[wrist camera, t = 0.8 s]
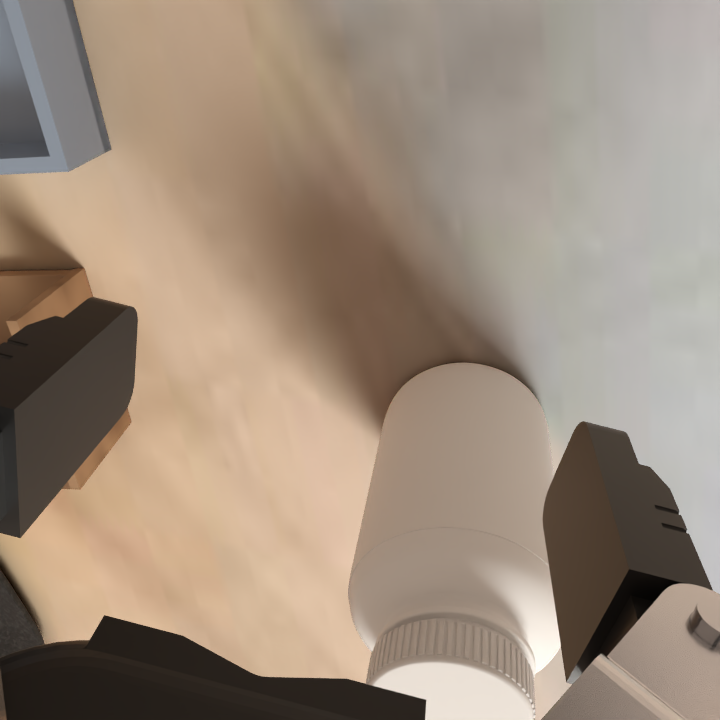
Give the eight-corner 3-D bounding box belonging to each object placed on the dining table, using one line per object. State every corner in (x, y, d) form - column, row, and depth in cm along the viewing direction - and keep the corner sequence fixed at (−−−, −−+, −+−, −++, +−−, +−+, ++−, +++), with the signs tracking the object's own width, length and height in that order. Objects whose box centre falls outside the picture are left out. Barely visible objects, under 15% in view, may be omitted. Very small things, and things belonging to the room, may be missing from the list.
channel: (131, 422, 37) (80, 489, 32) (32, 419, 38) (-31, 484, 33) (84, 268, 33) (16, 320, 28) (-27, 270, 34) (-110, 321, 29)
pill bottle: (374, 471, 36) (312, 753, 23) (399, 341, 32) (340, 599, 19) (523, 503, 36) (542, 808, 23) (569, 376, 31) (624, 664, 19)
